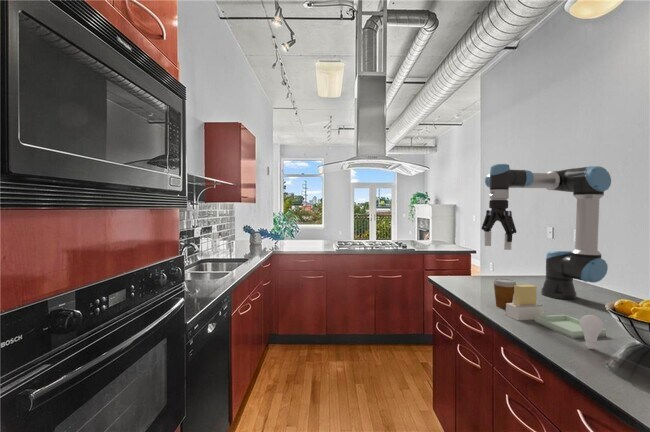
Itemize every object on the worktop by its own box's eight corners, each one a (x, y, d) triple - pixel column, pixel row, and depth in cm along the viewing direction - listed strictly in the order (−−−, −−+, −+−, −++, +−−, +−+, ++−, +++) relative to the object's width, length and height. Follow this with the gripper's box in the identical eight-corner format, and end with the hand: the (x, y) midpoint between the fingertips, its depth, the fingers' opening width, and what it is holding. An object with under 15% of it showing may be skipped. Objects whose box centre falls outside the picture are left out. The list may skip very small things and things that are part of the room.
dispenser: (530, 313, 150) (531, 300, 150) (543, 318, 143) (544, 305, 143) (505, 315, 147) (506, 301, 147) (517, 320, 141) (518, 306, 140)
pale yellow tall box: (530, 315, 147) (531, 284, 147) (535, 317, 144) (536, 286, 144) (513, 316, 146) (514, 285, 145) (518, 318, 143) (519, 287, 142)
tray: (564, 320, 141) (564, 314, 141) (605, 336, 125) (606, 329, 124) (534, 322, 139) (534, 316, 138) (572, 338, 122) (572, 331, 122)
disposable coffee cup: (518, 310, 155) (519, 283, 154) (495, 308, 157) (496, 281, 156) (511, 304, 164) (512, 278, 164) (489, 302, 166) (490, 277, 165)
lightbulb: (574, 345, 116) (575, 312, 116) (591, 344, 116) (592, 312, 116) (589, 353, 110) (590, 318, 110) (607, 352, 110) (609, 318, 110)
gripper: (474, 199, 166) (473, 244, 167) (510, 199, 142) (508, 251, 142) (488, 200, 167) (487, 244, 168) (527, 199, 143) (525, 251, 144)
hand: (497, 247), depth 155 cm, fingers open, 13 cm apart
